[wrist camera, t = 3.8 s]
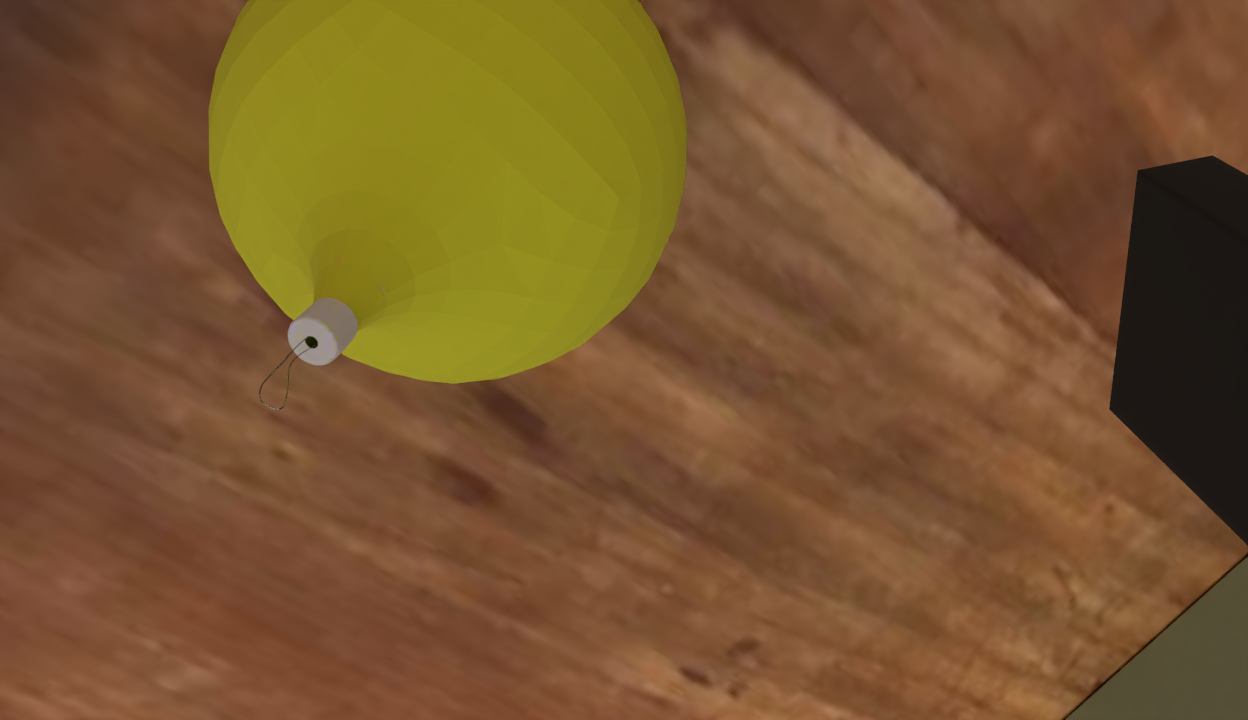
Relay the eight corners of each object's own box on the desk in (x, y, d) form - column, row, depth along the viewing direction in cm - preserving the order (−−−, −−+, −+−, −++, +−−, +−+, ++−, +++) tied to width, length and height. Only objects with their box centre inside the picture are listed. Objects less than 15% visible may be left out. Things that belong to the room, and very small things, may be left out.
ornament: (148, 92, 20) (-26, 396, 11) (422, -234, 18) (458, -164, 10) (460, 328, 23) (507, 700, 15) (716, 72, 21) (936, 325, 13)
